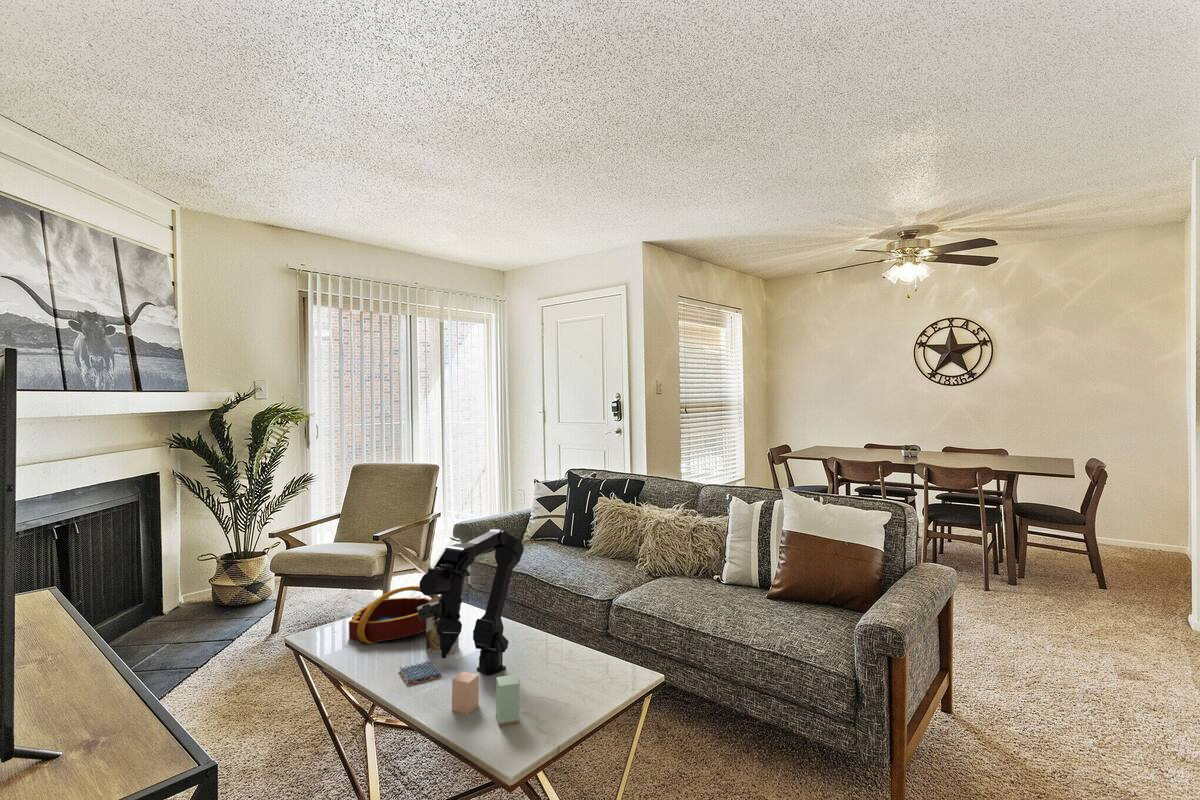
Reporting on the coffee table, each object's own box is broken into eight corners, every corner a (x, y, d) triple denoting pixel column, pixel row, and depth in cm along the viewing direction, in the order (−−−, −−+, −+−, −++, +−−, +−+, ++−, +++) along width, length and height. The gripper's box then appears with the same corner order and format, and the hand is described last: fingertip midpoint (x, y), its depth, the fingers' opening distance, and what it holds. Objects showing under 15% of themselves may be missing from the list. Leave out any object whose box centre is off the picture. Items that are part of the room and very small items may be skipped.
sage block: (495, 716, 148) (496, 677, 148) (515, 713, 149) (515, 674, 149) (498, 726, 143) (499, 686, 143) (518, 723, 145) (519, 683, 145)
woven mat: (407, 688, 163) (407, 681, 163) (397, 674, 172) (397, 667, 172) (443, 679, 168) (443, 672, 169) (432, 665, 177) (432, 659, 177)
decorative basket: (421, 614, 226) (418, 575, 228) (467, 621, 208) (463, 579, 210) (336, 642, 200) (333, 598, 202) (380, 652, 182) (376, 603, 184)
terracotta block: (462, 701, 155) (462, 671, 155) (478, 704, 154) (479, 674, 154) (451, 710, 150) (452, 679, 151) (468, 713, 149) (468, 682, 149)
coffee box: (459, 646, 191) (460, 597, 191) (452, 654, 184) (453, 604, 185) (432, 645, 192) (433, 596, 192) (425, 653, 185) (425, 602, 186)
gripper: (421, 586, 165) (411, 644, 162) (421, 596, 147) (411, 661, 144) (460, 589, 168) (452, 645, 165) (466, 599, 150) (456, 663, 147)
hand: (442, 653), depth 155 cm, fingers open, 9 cm apart
